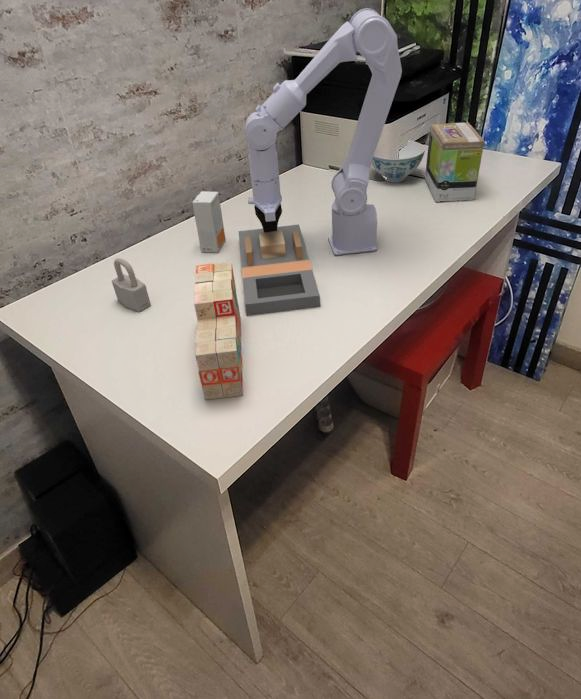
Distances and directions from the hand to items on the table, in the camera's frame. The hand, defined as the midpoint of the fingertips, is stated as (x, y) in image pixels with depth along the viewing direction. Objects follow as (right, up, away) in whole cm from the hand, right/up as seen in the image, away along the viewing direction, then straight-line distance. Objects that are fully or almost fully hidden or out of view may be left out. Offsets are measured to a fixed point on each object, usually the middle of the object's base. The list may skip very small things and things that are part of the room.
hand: (271, 237), depth 115 cm
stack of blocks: (-7, -26, -24) cm, 36 cm away
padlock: (-27, -15, -10) cm, 32 cm away
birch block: (0, -3, -3) cm, 4 cm away
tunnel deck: (+1, -8, -4) cm, 9 cm away
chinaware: (+33, +23, +30) cm, 50 cm away
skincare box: (-13, -1, +6) cm, 15 cm away
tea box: (+45, +17, +22) cm, 53 cm away
